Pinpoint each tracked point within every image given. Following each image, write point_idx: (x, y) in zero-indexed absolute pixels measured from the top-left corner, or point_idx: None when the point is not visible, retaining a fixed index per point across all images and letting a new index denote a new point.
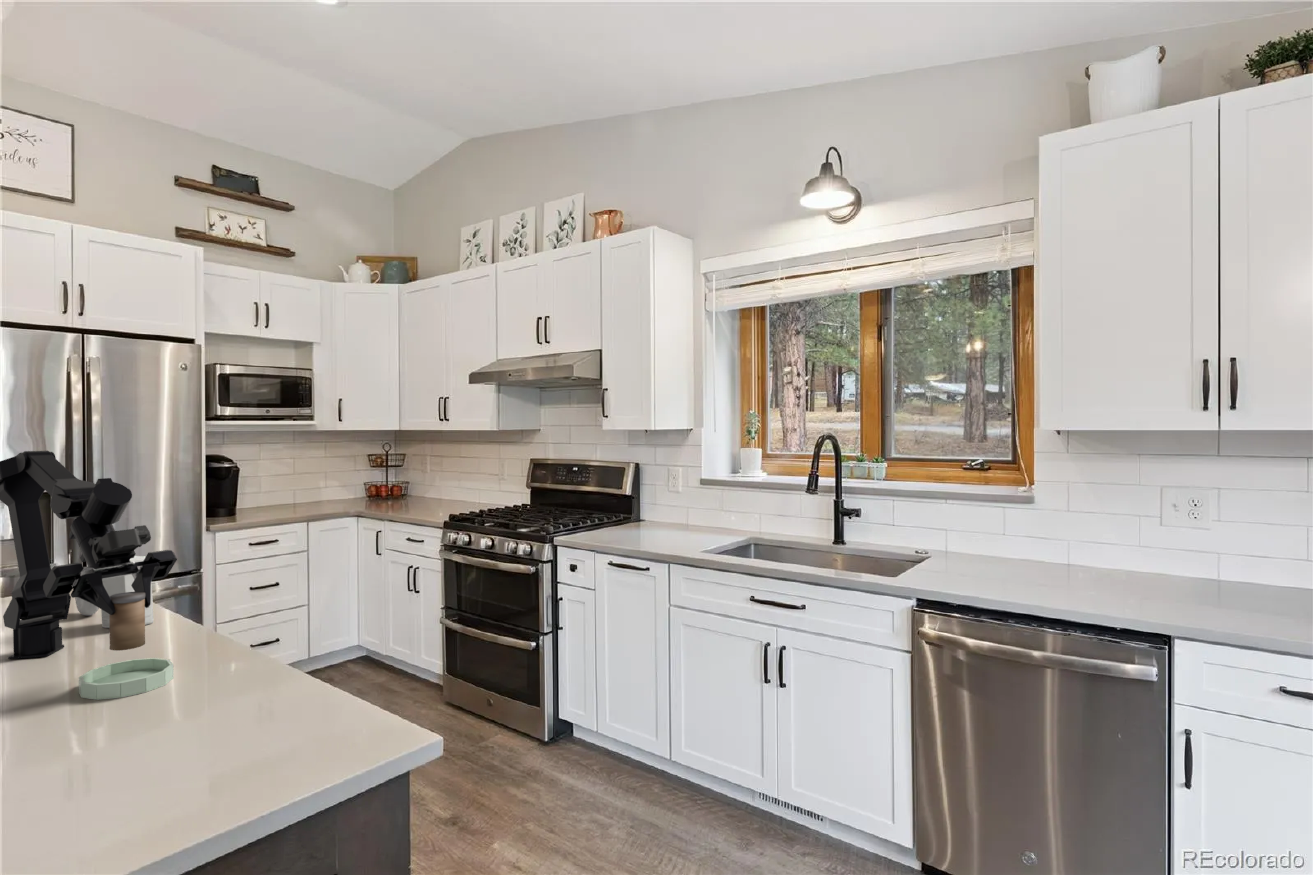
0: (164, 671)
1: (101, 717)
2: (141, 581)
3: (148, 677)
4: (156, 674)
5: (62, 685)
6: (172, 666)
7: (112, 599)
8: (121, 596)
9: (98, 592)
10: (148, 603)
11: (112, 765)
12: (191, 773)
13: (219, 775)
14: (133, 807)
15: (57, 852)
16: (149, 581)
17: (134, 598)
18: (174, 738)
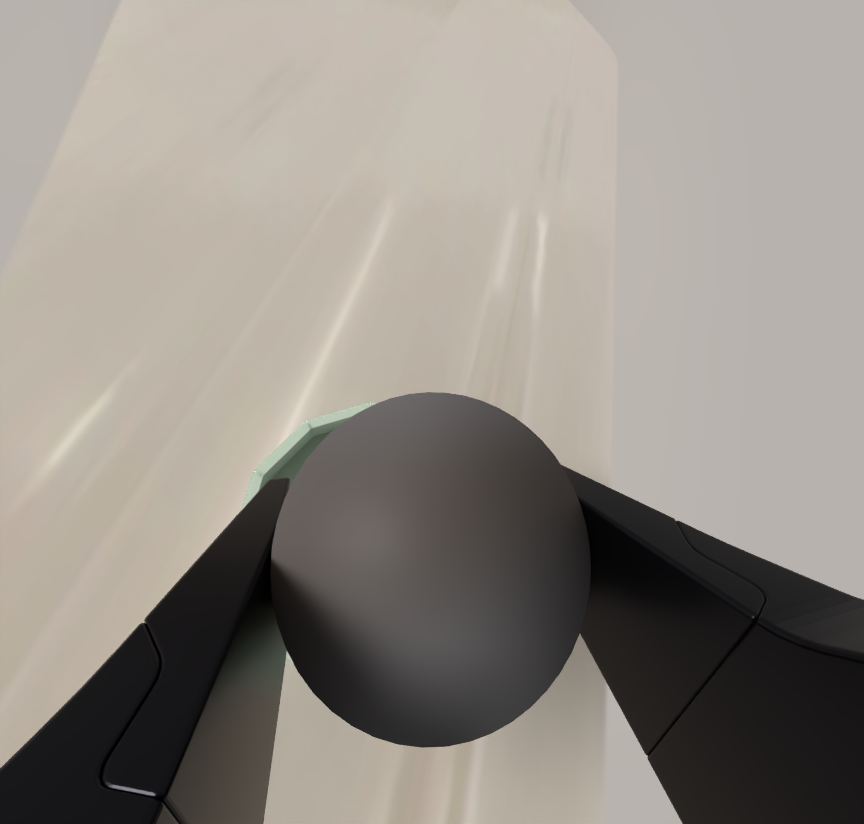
0: (308, 420)
1: (483, 336)
2: (191, 798)
3: (362, 405)
4: (335, 412)
5: None
6: (260, 465)
7: (569, 485)
8: (499, 524)
9: (728, 544)
10: (285, 478)
11: (517, 141)
12: (456, 43)
13: (436, 13)
14: (525, 41)
15: (589, 38)
16: (72, 725)
17: (425, 394)
18: (429, 142)
